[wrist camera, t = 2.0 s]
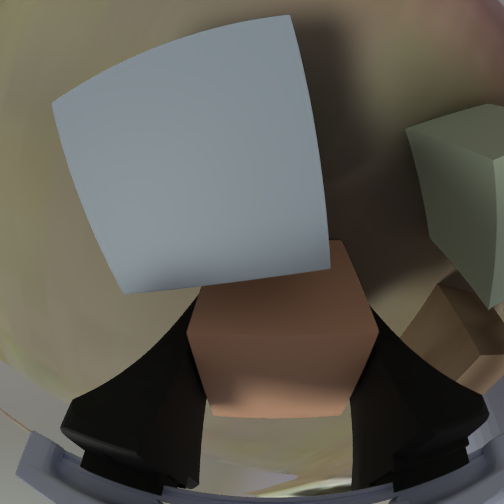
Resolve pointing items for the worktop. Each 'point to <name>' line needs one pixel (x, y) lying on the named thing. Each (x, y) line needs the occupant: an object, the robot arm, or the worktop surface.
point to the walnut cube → (459, 338)
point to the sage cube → (465, 192)
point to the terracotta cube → (283, 342)
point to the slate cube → (201, 160)
